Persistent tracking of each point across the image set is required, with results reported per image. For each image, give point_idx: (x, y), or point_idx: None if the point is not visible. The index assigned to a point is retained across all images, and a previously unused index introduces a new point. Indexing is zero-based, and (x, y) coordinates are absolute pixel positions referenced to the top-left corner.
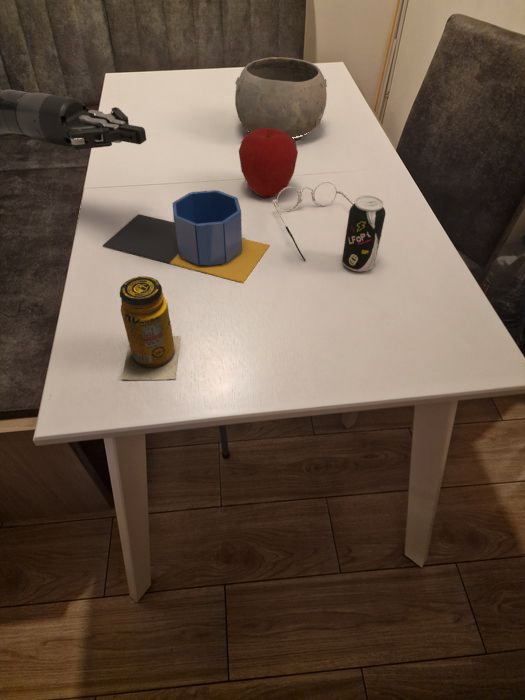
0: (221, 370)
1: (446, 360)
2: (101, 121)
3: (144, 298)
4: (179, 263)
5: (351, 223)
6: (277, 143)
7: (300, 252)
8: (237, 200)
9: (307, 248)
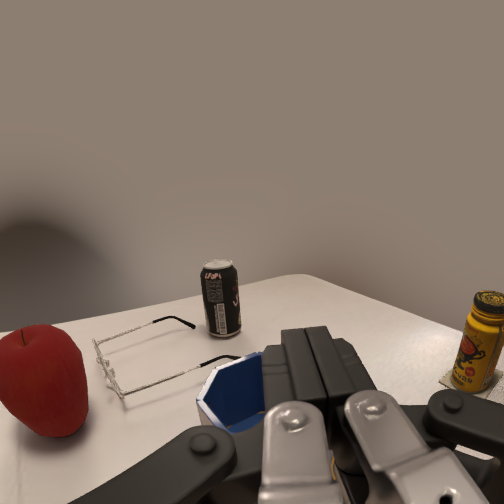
0: (430, 345)
1: (309, 287)
2: (437, 457)
3: (493, 291)
4: None
5: (232, 284)
6: (56, 329)
7: (236, 356)
8: (223, 364)
9: (210, 365)
